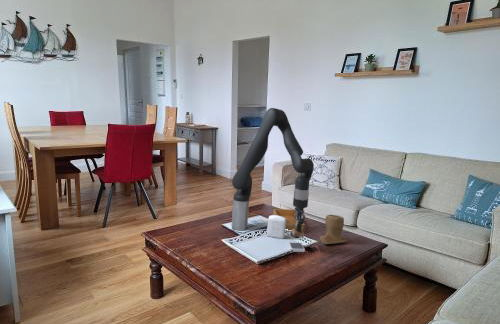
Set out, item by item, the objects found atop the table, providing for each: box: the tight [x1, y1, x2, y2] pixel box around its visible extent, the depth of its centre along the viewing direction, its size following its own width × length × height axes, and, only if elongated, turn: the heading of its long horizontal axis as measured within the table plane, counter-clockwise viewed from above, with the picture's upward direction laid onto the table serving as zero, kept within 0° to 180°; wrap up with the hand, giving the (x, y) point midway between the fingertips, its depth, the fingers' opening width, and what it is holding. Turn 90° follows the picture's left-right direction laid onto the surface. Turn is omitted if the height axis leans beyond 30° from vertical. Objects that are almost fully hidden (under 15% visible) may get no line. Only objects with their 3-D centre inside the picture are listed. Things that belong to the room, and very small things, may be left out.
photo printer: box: [266, 214, 286, 240], centre depth 194 cm, size 10×4×12 cm, turn 72°
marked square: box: [304, 245, 322, 253], centre depth 181 cm, size 8×8×1 cm
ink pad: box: [287, 242, 306, 253], centre depth 180 cm, size 7×8×2 cm
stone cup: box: [319, 214, 347, 245], centre depth 192 cm, size 15×12×15 cm
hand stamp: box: [291, 221, 305, 238], centre depth 178 cm, size 5×5×8 cm
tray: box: [272, 208, 306, 233], centre depth 217 cm, size 31×15×6 cm, turn 3°
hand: (298, 229), depth 178 cm, fingers closed on hand stamp, 3 cm apart
